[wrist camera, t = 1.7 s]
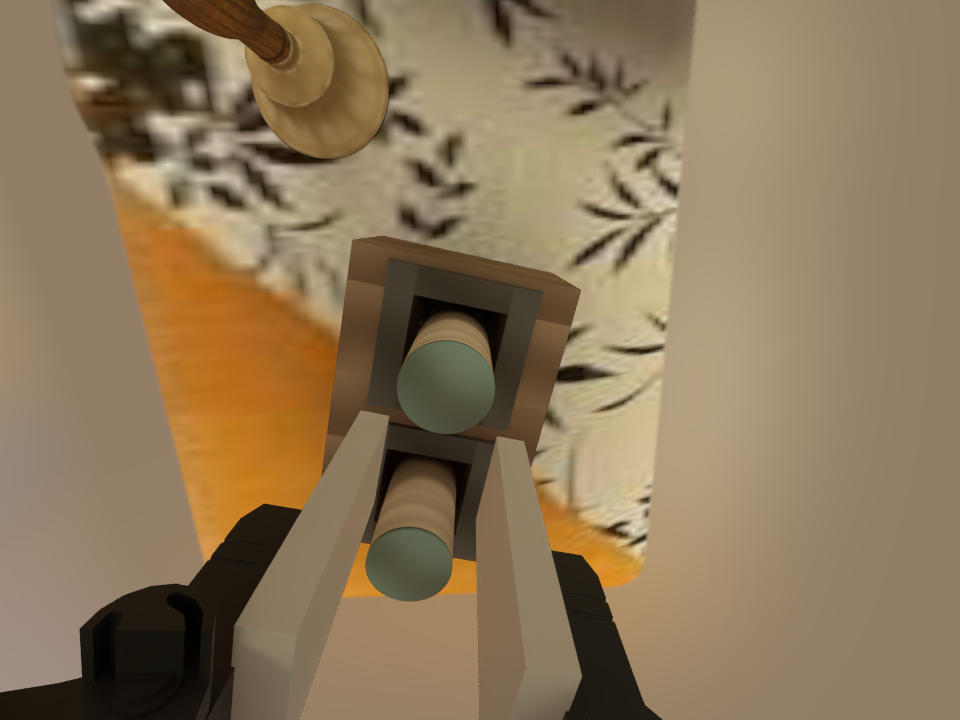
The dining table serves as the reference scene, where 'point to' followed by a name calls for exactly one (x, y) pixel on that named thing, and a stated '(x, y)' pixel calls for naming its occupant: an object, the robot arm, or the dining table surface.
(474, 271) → the socket block
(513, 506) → the robot arm
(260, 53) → the hand bell
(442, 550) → the peg
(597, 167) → the dining table surface
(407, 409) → the peg
